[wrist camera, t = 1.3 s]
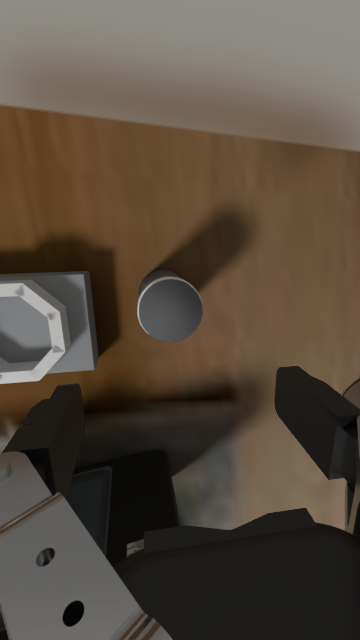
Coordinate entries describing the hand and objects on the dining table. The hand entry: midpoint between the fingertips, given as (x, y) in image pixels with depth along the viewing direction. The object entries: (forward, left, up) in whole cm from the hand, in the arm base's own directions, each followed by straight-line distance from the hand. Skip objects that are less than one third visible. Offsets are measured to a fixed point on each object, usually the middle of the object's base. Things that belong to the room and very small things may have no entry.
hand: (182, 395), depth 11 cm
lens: (-1, -1, -18) cm, 18 cm away
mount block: (+12, +1, -18) cm, 22 cm away
